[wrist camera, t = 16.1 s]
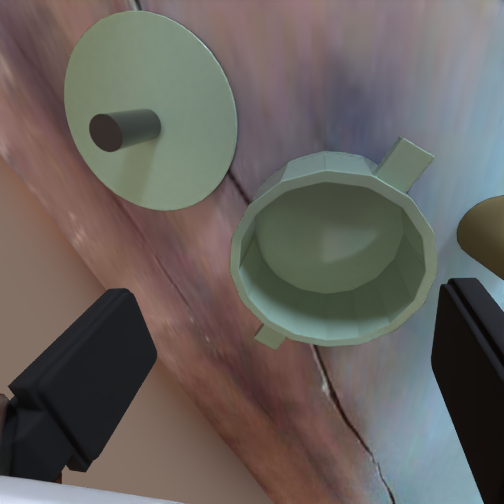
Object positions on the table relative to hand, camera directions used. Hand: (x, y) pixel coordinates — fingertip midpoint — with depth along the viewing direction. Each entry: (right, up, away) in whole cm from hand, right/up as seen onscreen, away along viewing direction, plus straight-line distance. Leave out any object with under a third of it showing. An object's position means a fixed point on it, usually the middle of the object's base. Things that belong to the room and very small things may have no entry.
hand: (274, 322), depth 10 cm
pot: (+6, +4, +21) cm, 22 cm away
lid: (-10, +14, +18) cm, 25 cm away
